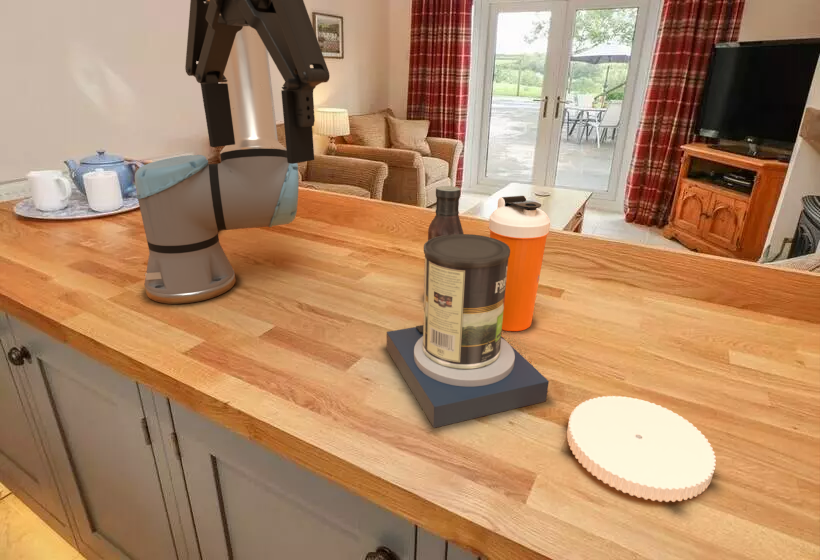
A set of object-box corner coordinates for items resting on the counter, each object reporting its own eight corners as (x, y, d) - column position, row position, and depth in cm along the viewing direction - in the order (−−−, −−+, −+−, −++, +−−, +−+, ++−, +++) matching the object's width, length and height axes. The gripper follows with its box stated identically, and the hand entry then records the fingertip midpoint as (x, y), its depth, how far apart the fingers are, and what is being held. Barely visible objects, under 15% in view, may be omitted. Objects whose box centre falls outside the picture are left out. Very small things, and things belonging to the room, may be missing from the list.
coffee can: (501, 333, 68) (511, 236, 62) (499, 374, 59) (509, 265, 53) (428, 325, 70) (431, 230, 64) (414, 364, 61) (416, 257, 55)
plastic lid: (735, 467, 51) (742, 448, 50) (661, 535, 43) (668, 514, 42) (614, 399, 61) (618, 382, 60) (538, 443, 54) (541, 425, 53)
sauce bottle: (449, 310, 83) (455, 194, 75) (418, 301, 86) (420, 189, 78) (466, 296, 88) (473, 187, 80) (436, 289, 91) (440, 182, 83)
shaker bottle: (504, 339, 74) (516, 210, 66) (470, 315, 82) (478, 196, 74) (549, 327, 78) (566, 203, 70) (513, 304, 85) (525, 191, 77)
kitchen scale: (386, 349, 71) (386, 325, 70) (479, 333, 76) (480, 310, 74) (433, 428, 56) (434, 399, 54) (546, 401, 60) (550, 374, 59)
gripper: (123, -82, 47) (165, 143, 56) (288, -137, 33) (309, 176, 42) (196, -67, 53) (224, 136, 61) (365, -109, 39) (370, 163, 47)
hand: (259, 153), depth 52 cm, fingers open, 13 cm apart
